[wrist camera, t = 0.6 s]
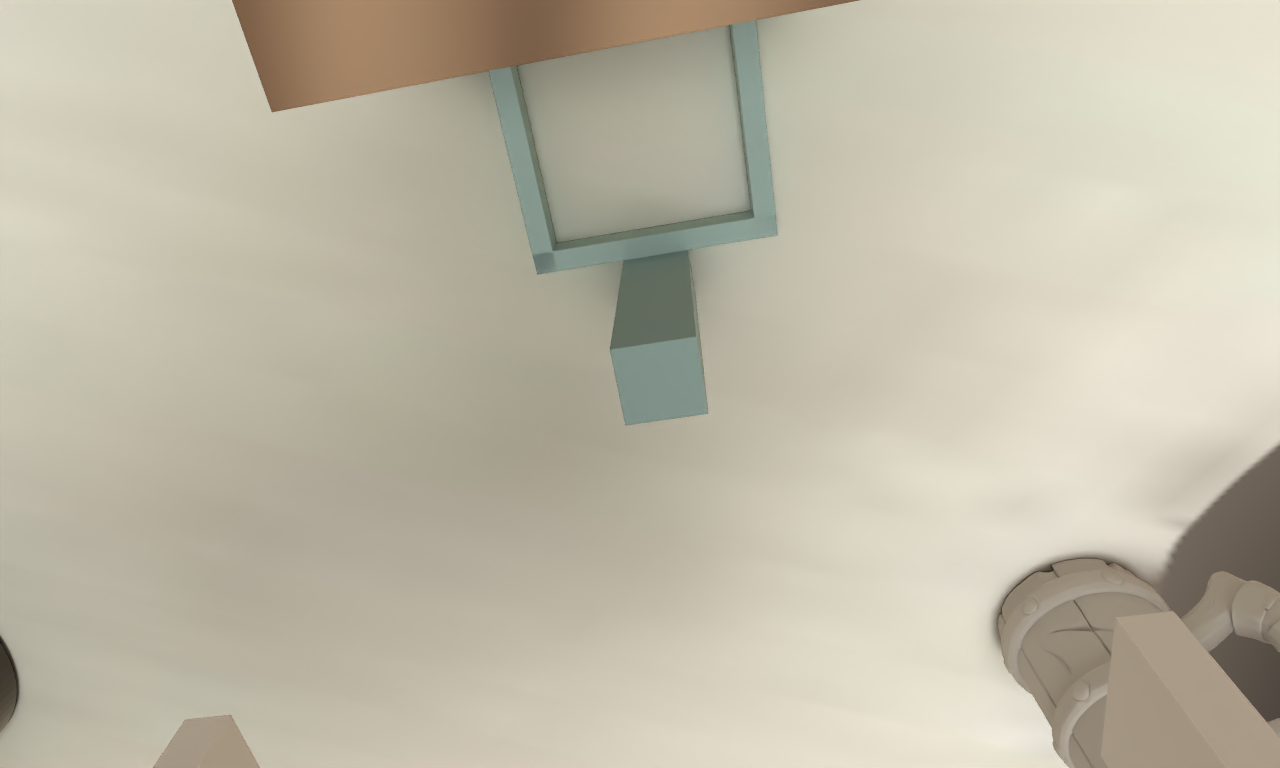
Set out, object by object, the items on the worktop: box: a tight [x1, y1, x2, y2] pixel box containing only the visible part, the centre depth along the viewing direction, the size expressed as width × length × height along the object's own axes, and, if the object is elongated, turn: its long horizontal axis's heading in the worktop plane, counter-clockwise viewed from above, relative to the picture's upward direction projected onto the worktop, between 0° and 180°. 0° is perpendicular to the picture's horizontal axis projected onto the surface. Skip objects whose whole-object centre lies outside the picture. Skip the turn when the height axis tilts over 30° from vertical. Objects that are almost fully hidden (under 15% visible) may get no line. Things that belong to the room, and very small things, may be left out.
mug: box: [998, 559, 1280, 768], centre depth 33 cm, size 8×12×12 cm, turn 122°
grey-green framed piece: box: [489, 20, 778, 425], centre depth 24 cm, size 9×22×10 cm, turn 10°
